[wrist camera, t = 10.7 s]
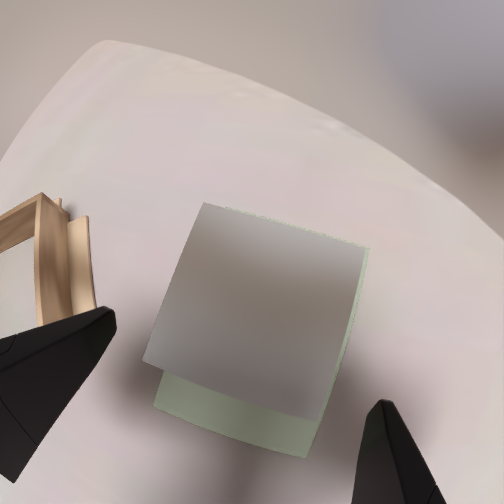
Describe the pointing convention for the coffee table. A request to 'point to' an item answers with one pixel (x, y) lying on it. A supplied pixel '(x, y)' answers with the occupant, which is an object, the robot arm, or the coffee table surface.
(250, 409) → the green mat
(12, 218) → the wooden square frame
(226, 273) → the gray block
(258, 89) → the coffee table surface
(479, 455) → the coffee table surface
